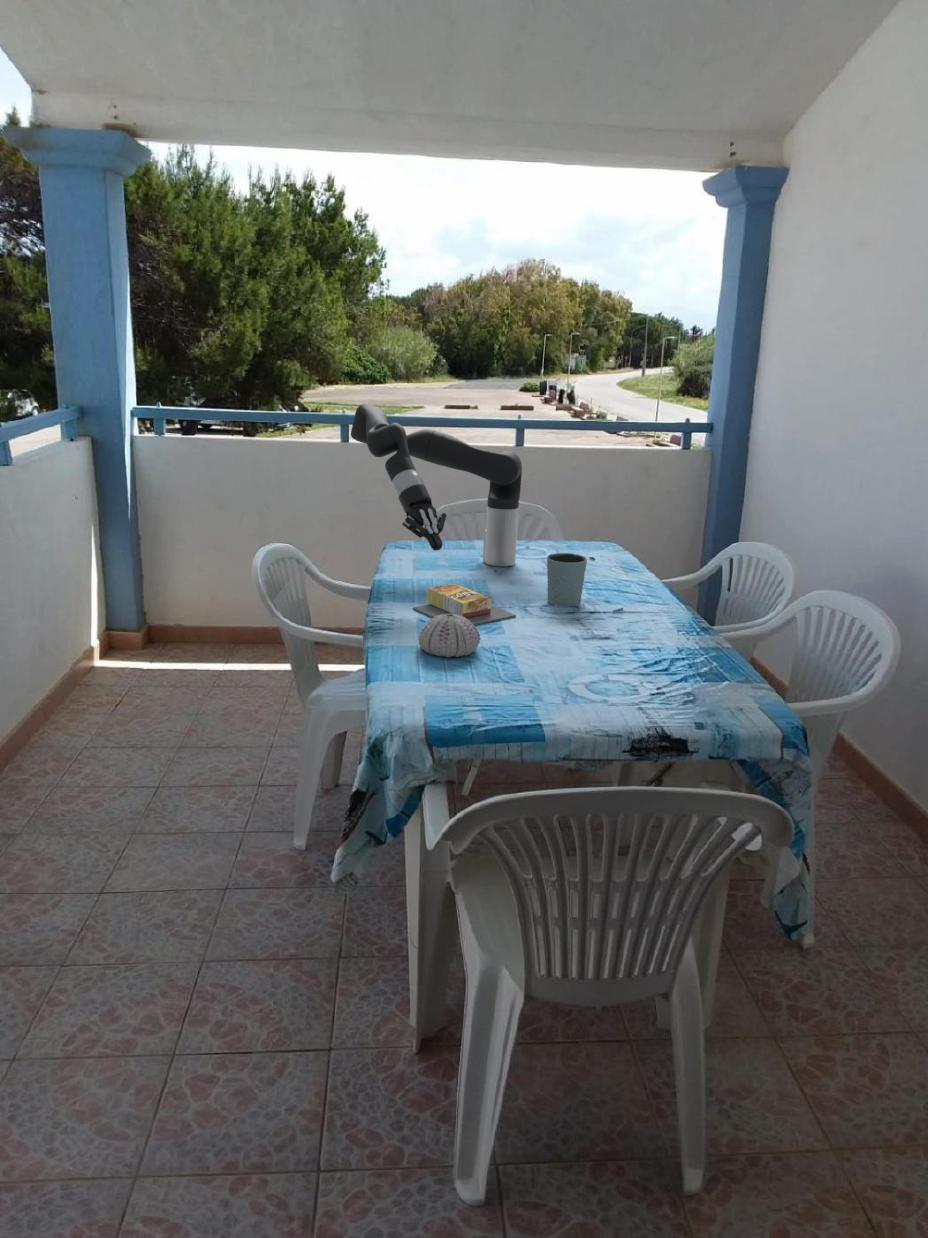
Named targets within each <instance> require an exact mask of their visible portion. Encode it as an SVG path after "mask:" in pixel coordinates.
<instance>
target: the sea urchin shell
mask: <svg viewBox="0 0 928 1238" xmlns="http://www.w3.org/2000/svg"><path fill="white" fill-rule="evenodd" d="M479 633H480V632H479V631H478V628H477V627H476V625H475V626H474V625H473V624H472V623H471V622H470V621H469V620H467V619H466V618H464V617H462V616H460V615H456V614H441V615H438V616H435V617H434V618H431V619H429V620H428V621H427V622H426V624H424V627H423V628H421V631H420V632H419V635H418V636H417V637H418V639H417V640H418V645H419V647H420V648H421V649H422V650H423V651H425V652H426V653H428V654H430V655H435V656H438V657H446V658H450V657H451V658H453V657H455V656H456V657H455V658H459V656H462V657H463V656H468V655H471V653H474V651H477V647H479V644H480V643H481V641H480V640H481V634H479ZM452 656H453V657H452Z"/></svg>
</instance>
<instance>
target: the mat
mask: <svg viewBox="0 0 928 1238" xmlns="http://www.w3.org/2000/svg"><path fill="white" fill-rule="evenodd" d="M412 609H413V610H414V611H416V612H418V613H420V612H421V613H420V614H422V613H423V615H424V614H425V615H424V616H427V617H429V618H431V619H432V618H434V617H435V616H438V615H441V614H451V613H449V612H447V611H445V610H442V609H440V608H438V607H436V606H434V605H432V604H429V603H428V604H424V605H419V606H413V607H412ZM512 617H514V618H516V617H517V615H516V614H514V613H512V612H509V611H507V610H505V609H502V608H500V607H497V606H495V605H492V604H491V613H489V614H483V615H478V616H473V617H468V618H466V619H467V620H469V621H470V622H471V623H472V624H473V625H474V626H475V627H476V626H479V624H480V625H484V624H483V623H485V624H487V623H486V622H490V623H493V622H492V621H494V622H497V621H496V620H499V621H501V620H500V619H504V620H508V618H509V619H513V618H512Z"/></svg>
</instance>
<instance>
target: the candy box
mask: <svg viewBox="0 0 928 1238" xmlns="http://www.w3.org/2000/svg"><path fill="white" fill-rule="evenodd" d="M426 603H427V604H428V605H429V604H432V605H434V606H436V607H438V608H440V609H442V610H445V611H447V612H449V613H451V614H456V615H460V616H462V617H464V618H468V617H473V616H478V615H483V614H489V613H491V605H492V598H491V597H489V596H486V595H483V594H481V593H479V592H476V591H474V590H472V589H470V588H467V587H465V586H462V585H459V584H457V583H449V584H442V585H435V586H430V587H427V588H426Z"/></svg>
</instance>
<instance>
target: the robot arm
mask: <svg viewBox="0 0 928 1238" xmlns="http://www.w3.org/2000/svg"><path fill="white" fill-rule="evenodd" d="M350 436H351V438H352V440H355V441H356V442H360V443H361V444H362V443H363V444H366V445H367V449H368V450H369V453H370V454H371V455H372V456H373V457H375V458H383V457H386V456H387V455H388V456H389V455H391V454H393V453H394V454H393V455H392V456H391V457H389V458H388V459H387V460H386V462H385V465H384V466H385V470H386V473H387V475H388V477H389V479H390V481H391V484H392V487H393V490H394V492H395V494H396V496H397V497H396V498H397V499H398V501H399V503H400V505H401V507H402V510H403V512H404V513H405V515H406V518H405V519H403V521H402V523H401V524H402V526H403V527H404V528H406V530H407V529H408V531H410V532H411V533H413V534H414V535H416V536H417V537H418V538H422V537H423V538H424V539H426V540H427V542H428V543H429V546H430V548H431V549H432V550H433V551H435V552H436V551H440V550H441V548H442V547H443V544H444V543H443V541H442V539H441V537H440V534H441V532H442V531H443V530H444V527H445V524H446V520H447V519H446V518H447V514H446V513H444V512H442V513H439V512H437V509H436V508H435V507H434V506H433V502H432V501H433V500H432V497H431V496H430V494H429V492H428V490H427V488H426V485H425V483H424V480H423V479H422V477H421V476H420V474H419V473H418V471H417V468H416V467H415V465H414V463H413V460H412V458H411V457H414V458H415V459H419V460H422V461H424V462H428V463H431V464H435V465H436V466H437V465H438V466H442V467H445V468H449V469H454V470H458V471H463V472H467V473H470V474H472V475H475V476H477V477H479V478H483V479H485V480H487V481H489V491H488V495H487V506H486V507H487V508H486V529H485V530H484V531H483V547H482V548H483V549H482V552H483V553H482V554H483V555H482V562H484V563H485V564H486V565H489V566H493V567H512V566H514V565H516V555H517V553H516V552H517V540H518V539H517V537H518V524H519V522H518V521H519V520H518V519H519V505H520V498H521V485H522V471H523V465H522V461H521V458H520V456H519V455H517V454H516V453H515V452H513V451H509V450H503V451H499V452H494V451H489V450H486V449H485V450H484V449H481V448H478V447H476V446H475V447H474V446H472V445H470V444H468V443H466V442H464V441H463V440H461V439H459V438H458V437H454V436H452V435H450V434H448V433H445V432H441V431H438V430H436V429H435V430H434V429H432V428H431V429H430V428H427V429H422V430H418V431H414V432H412V433H409V434H407V432H406V429H405V428H404V427H403V426H402V425H401V424H400V423H398V422H392V423H390V424H389V422H388V419H387V412H386V411H385V410H384V409H382V408H381V407H378V406H376V405H373V404H367V403H365V404H364V403H362V404H360V405H358V407H357V408H356V409H355V414H354V417H353V420H352V426H351V430H350Z"/></svg>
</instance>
